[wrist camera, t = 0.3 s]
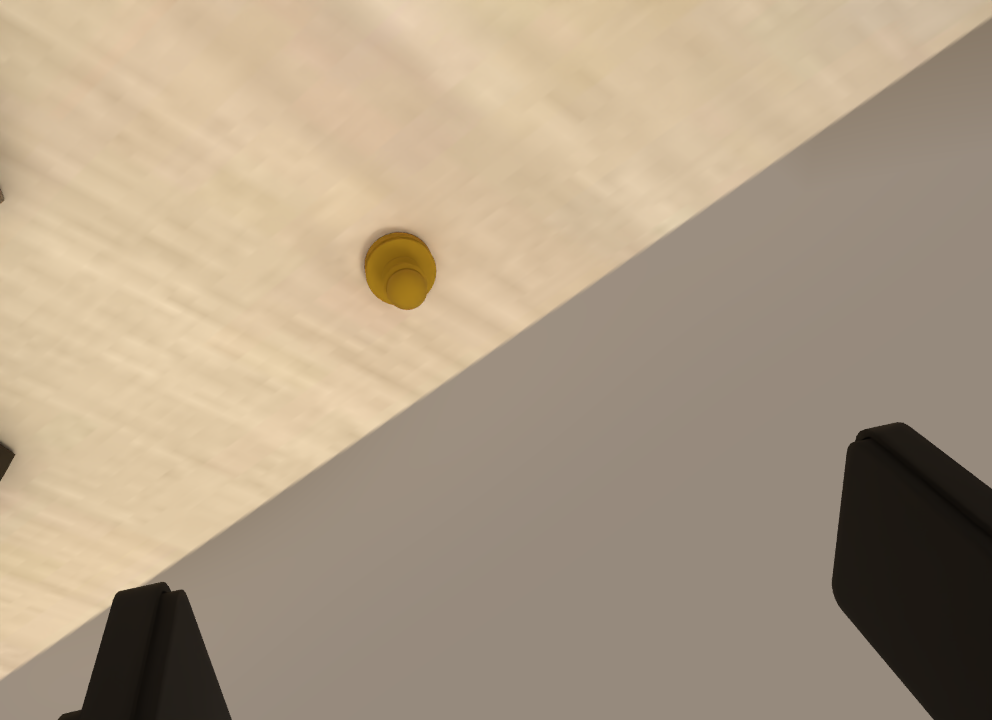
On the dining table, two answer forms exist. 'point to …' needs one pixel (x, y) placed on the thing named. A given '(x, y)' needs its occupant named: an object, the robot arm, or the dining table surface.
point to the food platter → (5, 460)
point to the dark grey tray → (1, 197)
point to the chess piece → (400, 270)
